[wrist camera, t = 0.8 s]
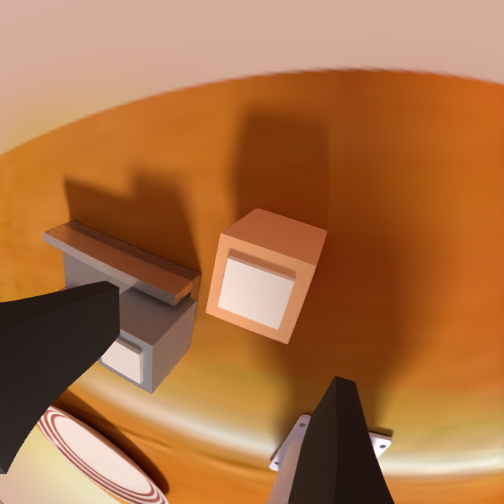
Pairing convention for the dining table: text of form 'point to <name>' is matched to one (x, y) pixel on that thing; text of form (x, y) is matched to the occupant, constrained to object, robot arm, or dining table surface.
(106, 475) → the dinner plate
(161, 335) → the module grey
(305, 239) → the block
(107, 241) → the rail
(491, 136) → the dining table surface
